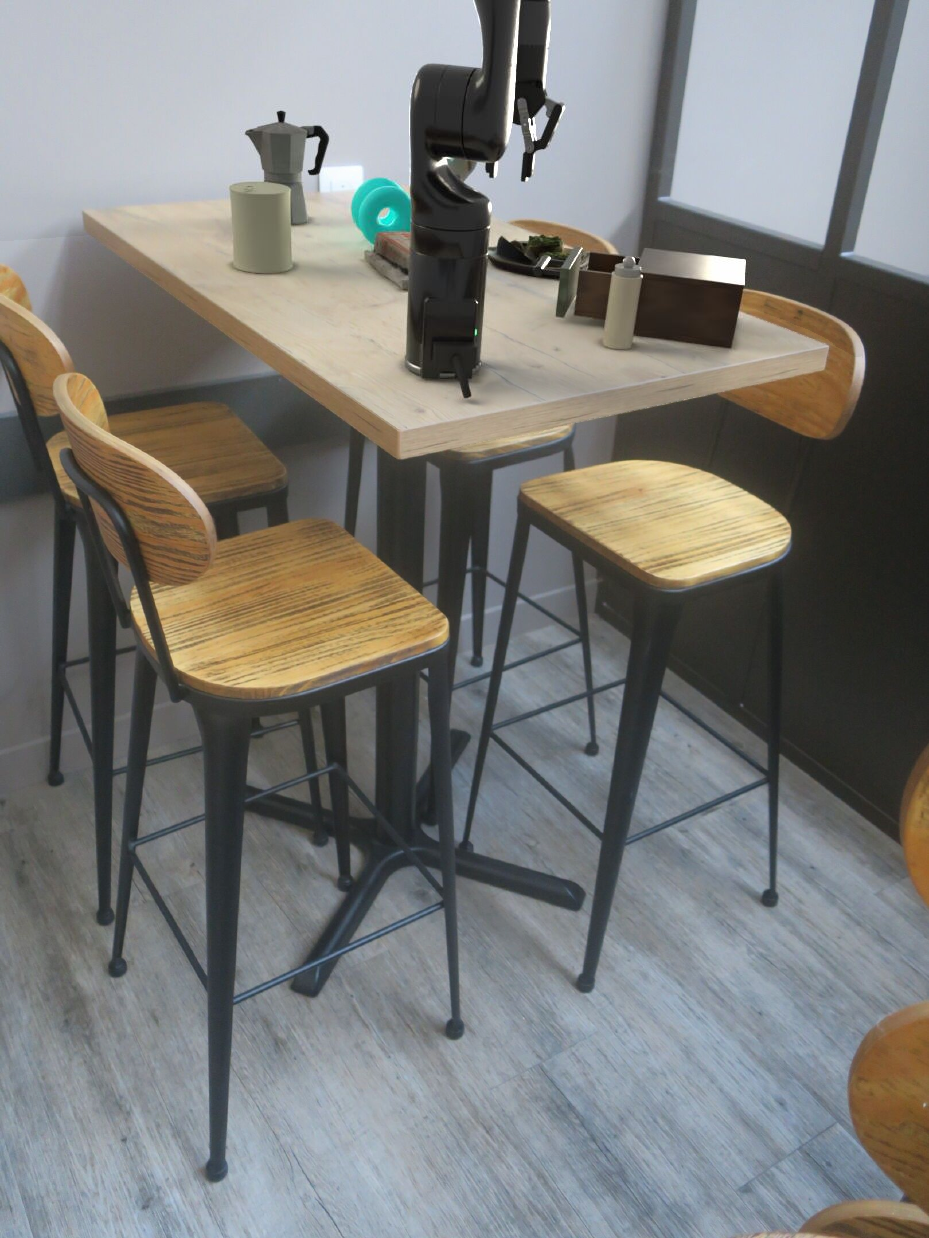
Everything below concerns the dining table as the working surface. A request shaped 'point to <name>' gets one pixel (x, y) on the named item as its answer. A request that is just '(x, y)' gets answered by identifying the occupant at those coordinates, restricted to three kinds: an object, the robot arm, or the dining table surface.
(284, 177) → the coffeepot
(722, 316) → the cabinet
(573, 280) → the drawer
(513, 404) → the dining table surface
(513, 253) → the salad plate
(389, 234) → the packaged product
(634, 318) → the pepper mill
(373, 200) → the donuts
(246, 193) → the can
